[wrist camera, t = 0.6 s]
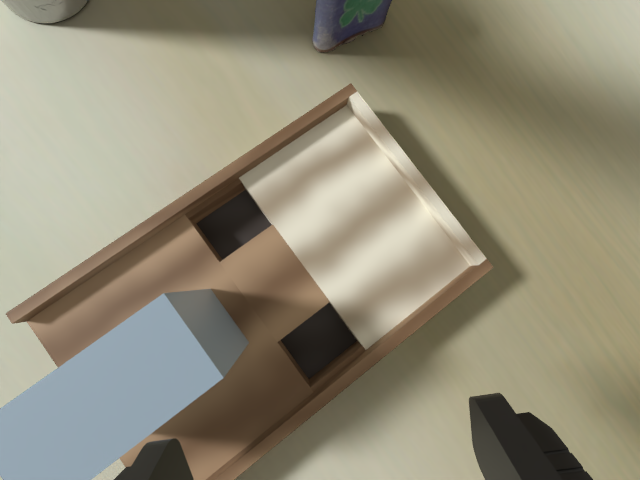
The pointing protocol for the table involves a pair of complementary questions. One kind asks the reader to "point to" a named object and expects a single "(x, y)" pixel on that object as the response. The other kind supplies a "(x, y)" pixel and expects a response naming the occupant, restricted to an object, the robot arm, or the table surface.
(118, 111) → the table surface
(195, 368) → the block
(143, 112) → the table surface
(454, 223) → the board
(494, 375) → the table surface
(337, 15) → the flask
